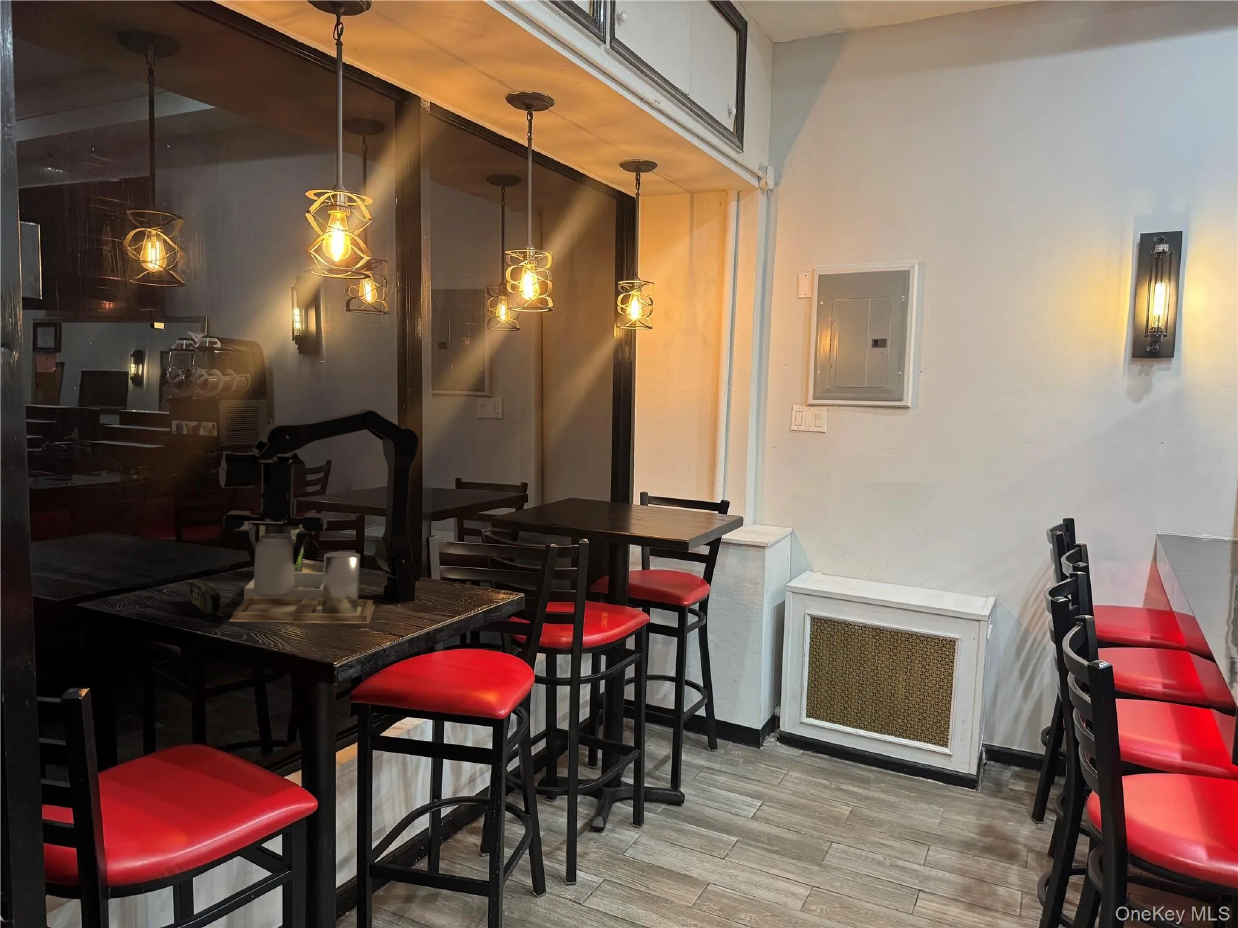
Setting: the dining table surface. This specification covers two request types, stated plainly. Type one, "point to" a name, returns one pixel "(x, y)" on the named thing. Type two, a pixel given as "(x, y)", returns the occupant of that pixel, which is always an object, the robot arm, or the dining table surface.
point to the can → (274, 566)
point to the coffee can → (288, 531)
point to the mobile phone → (205, 598)
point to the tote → (299, 581)
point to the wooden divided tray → (297, 611)
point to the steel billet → (340, 583)
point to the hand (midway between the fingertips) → (274, 563)
